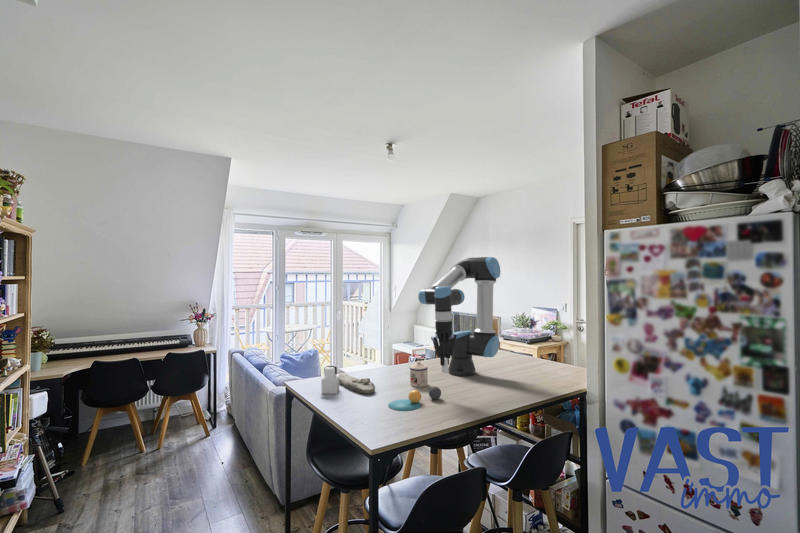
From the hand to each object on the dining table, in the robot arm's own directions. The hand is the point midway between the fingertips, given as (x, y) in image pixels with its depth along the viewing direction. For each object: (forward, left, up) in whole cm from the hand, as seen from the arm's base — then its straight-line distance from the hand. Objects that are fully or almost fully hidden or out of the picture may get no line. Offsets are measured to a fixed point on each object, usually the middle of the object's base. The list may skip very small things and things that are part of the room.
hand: (445, 372), depth 176 cm
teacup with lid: (0, -21, -11) cm, 24 cm away
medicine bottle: (+42, -35, -11) cm, 56 cm away
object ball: (+16, 0, -8) cm, 18 cm away
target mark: (+21, 0, -11) cm, 24 cm away
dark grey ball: (+6, +1, -8) cm, 10 cm away
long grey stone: (+29, -38, -12) cm, 49 cm away
